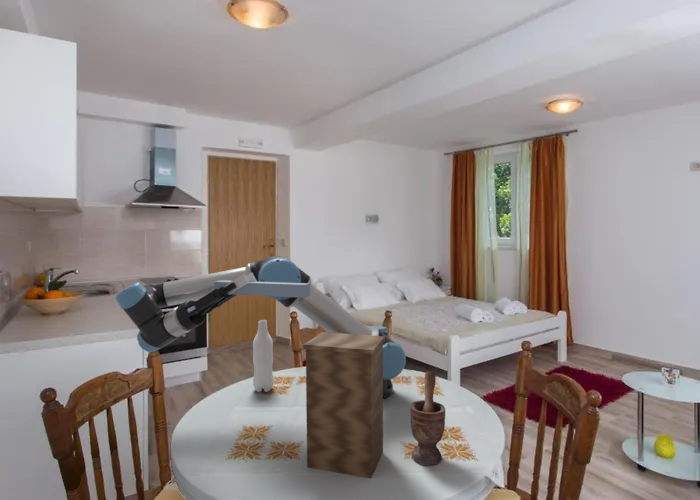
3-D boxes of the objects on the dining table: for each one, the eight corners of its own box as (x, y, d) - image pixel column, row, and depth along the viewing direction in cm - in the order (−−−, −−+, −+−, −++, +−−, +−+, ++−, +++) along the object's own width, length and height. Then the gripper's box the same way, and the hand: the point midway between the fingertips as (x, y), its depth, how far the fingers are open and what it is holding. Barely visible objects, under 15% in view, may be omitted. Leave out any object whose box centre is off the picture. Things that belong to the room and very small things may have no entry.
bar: (214, 293, 114) (214, 281, 114) (221, 292, 117) (221, 280, 117) (305, 297, 106) (304, 284, 106) (310, 295, 109) (309, 283, 109)
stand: (304, 468, 103) (303, 344, 102) (323, 442, 115) (322, 332, 114) (373, 479, 98) (372, 350, 97) (385, 451, 111) (385, 336, 109)
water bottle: (269, 394, 150) (268, 323, 148) (249, 392, 151) (248, 322, 150) (276, 387, 157) (275, 319, 155) (258, 385, 158) (257, 318, 157)
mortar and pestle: (404, 443, 115) (404, 370, 114) (436, 442, 115) (436, 369, 114) (414, 467, 103) (414, 385, 102) (449, 466, 104) (449, 384, 103)
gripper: (209, 323, 126) (271, 286, 120) (171, 336, 111) (239, 294, 104) (198, 301, 127) (258, 262, 121) (158, 311, 112) (226, 267, 105)
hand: (249, 277), depth 112 cm, fingers closed on bar, 3 cm apart
